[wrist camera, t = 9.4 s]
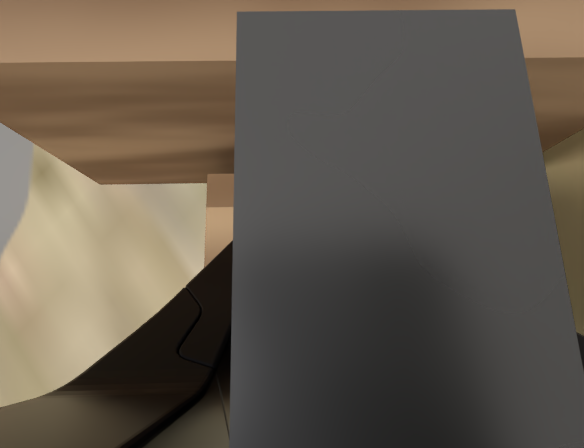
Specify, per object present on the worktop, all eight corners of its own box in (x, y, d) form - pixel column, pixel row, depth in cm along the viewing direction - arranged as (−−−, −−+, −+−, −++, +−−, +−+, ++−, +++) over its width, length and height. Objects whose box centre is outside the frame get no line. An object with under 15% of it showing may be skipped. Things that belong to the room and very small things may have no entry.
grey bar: (336, 339, 15) (619, 556, 2) (279, 340, 15) (227, 569, 2) (331, 245, 16) (515, 9, 3) (278, 246, 16) (236, 10, 3)
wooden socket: (530, 391, 17) (849, 510, 7) (77, 402, 17) (-214, 541, 7) (490, 129, 20) (679, -33, 10) (105, 134, 20) (-72, -28, 10)
